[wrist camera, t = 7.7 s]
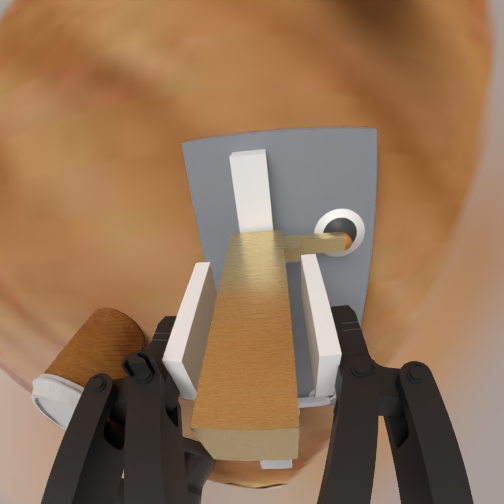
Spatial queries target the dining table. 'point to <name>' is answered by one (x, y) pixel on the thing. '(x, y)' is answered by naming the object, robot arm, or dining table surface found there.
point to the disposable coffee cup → (86, 363)
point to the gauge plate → (291, 212)
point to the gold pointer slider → (254, 350)
